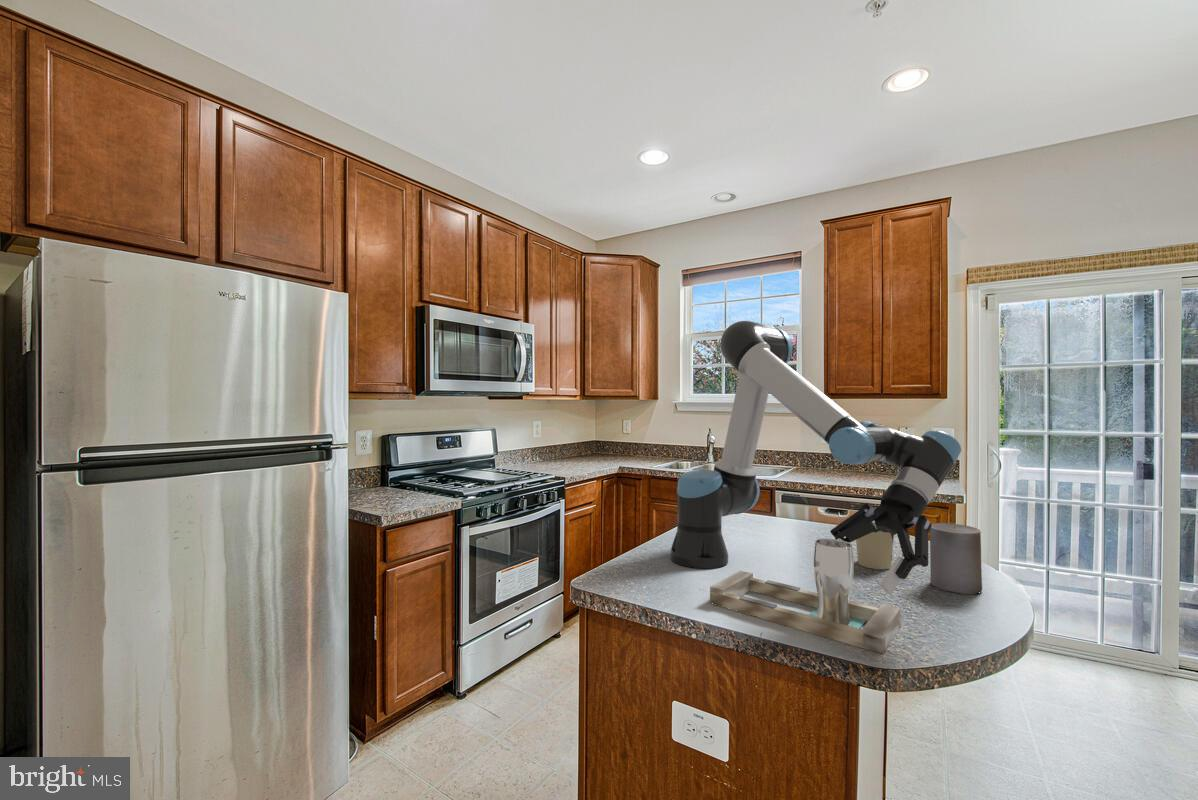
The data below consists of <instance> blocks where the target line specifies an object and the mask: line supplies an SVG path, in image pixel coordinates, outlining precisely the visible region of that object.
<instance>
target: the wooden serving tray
mask: <svg viewBox="0 0 1198 800" xmlns="http://www.w3.org/2000/svg"><path fill="white" fill-rule="evenodd" d="M748 591H749V592H752V591H754V592H753V593H756V592H758V593H757V594H760V593H761V595H764V594H765V595H764V596H768V595H769V597H771V596H773V597H772V598H775V597H776V599H779V598H780V600H783V599H784V601H788V602H791V601H792V602H791V603H795V604H800V605H802V604H803V605H802V606H806V607H810V608H815V609H814V610H813V611H812V612H811V613H809V614H806V613H803V612H799V611H795V610H791V609H787V608H784V607H780V606H778V604H775V603H772V602H768V601H764V600H759V599H756V598H753V597H750V596H745V593H746V592H747V593H749V592H748ZM747 593H746V594H747ZM743 594H744V595H743ZM740 596H741V597H740ZM710 603H713V604H716V605H715V606H717V605H719V606H718V607H720V606H723V607H722V608H724V607H726V608H725V609H727V608H730V609H733V610H732V611H734V610H737V611H740V612H739V613H741V612H743V613H742V614H744V613H747V614H751V615H753V616H752V617H754V616H757V617H756V618H758V617H760V618H759V619H761V618H763V619H762V620H765V619H767V620H766V621H768V620H770V621H769V622H771V621H773V622H772V623H775V622H776V623H775V624H778V623H779V624H780V625H783V626H786V627H789V628H792V629H796V630H800V631H802V632H806V633H809V634H814V635H817V636H819V637H823V638H827V639H830V640H834V641H837V642H840V643H844V644H847V645H850V646H854V647H858V648H861V649H865V650H868V651H871V652H874V653H878V654H881V653H882V654H881V655H884V654H885V652H886V651H887V649H888V647H889V646H888V645H890V644H891V642H892V641H893V640H894V638H895V636H896V635H895V634H897V633H898V632H897V631H899V630H900V628H901V625H902V623H901V620H902V618H901V617H902V616H901V615H902V613H901V610H902V609H901V607H898V606H894V605H890V604H886V603H882V604H881V605H880V606H879V607H876V606H873V605H868V604H864V603H860V602H856V601H851V600H849V615H850V620H851V626H848V625H844V624H840V623H836V622H833V621H829V620H825V619H822V618H818V617H816V613H817V608H818V595H817V592H813V591H810V590H805V589H801V587H800V586H795V585H791V584H786V583H784V582H783V583H782V582H778V581H773V580H770V579H767V580H763V579H758V578H755V577H754V572H749V571H748V572H747V571H745V570H738V571H737V572H735V573H733V574H731V575H729V576H728V577H725V578H723V579H722V580H720V581H718V582H716V583H714V584H713V585H711V586H710V587H709V604H710ZM713 604H712V605H713ZM730 609H729V610H730ZM737 611H736V612H737ZM747 614H746V615H747ZM751 615H750V616H751ZM865 623H866V624H865ZM864 624H865V625H864ZM863 625H864V626H863ZM862 626H863V628H862ZM893 637H894V638H893ZM891 640H892V641H891ZM889 643H890V644H889ZM887 646H888V647H887ZM886 648H887V649H886ZM884 651H885V652H884Z"/></svg>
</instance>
